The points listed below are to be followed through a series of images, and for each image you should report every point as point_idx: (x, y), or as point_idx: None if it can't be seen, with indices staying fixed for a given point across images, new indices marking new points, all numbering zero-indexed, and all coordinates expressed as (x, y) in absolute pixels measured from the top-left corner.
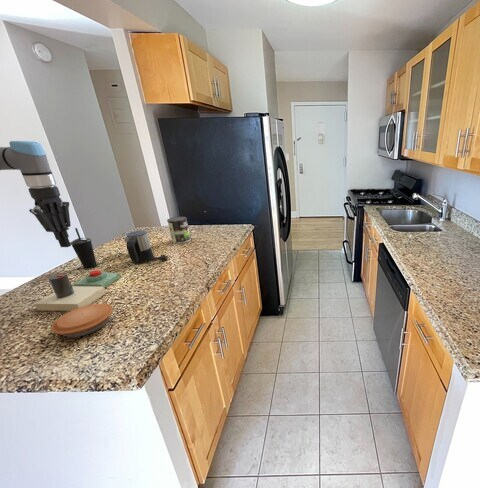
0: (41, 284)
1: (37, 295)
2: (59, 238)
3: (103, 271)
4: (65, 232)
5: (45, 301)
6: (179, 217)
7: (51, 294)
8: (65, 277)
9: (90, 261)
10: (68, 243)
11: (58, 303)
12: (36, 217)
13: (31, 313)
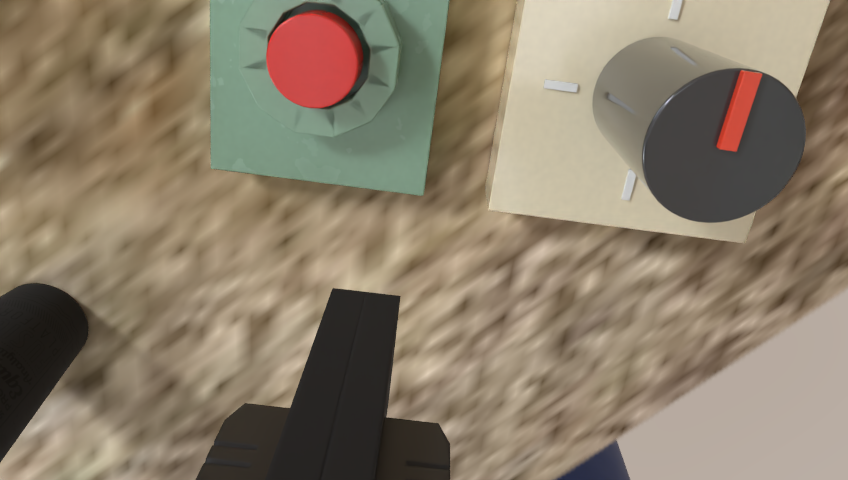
0: None
1: (496, 368)
2: (446, 452)
3: (247, 22)
4: (281, 475)
5: None
6: None
7: (622, 218)
8: (730, 64)
9: (28, 319)
10: (352, 321)
11: (811, 43)
12: None
13: (753, 229)
